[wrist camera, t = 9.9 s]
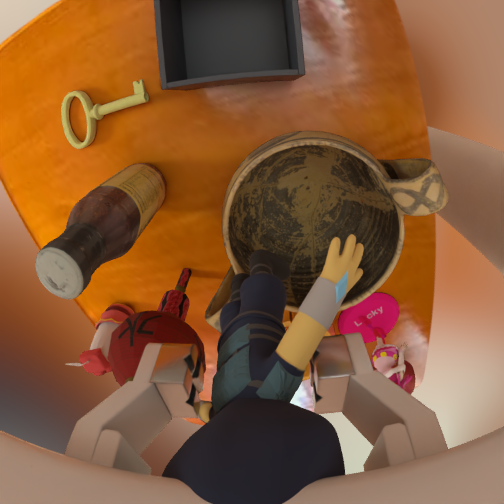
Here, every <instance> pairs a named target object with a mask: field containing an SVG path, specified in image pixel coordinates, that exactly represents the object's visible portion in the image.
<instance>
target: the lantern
mask: <svg viewBox="0 0 504 504" xmlns="http://www.w3.org/2000/svg"><path fill="white" fill-rule="evenodd" d="M190 275H191V270H190V269H188V268H185V269H183V270H182V273H181V275H180V278H179V280H178V283H177V286H176V288H175V290H170V291H167V292H166V293H165V294H164V296H163V298H162V300H161V303H160V305H159V307H158V310H157V311H144V312H140V313H136V314H132V315H130V316H129V317H127V318H126V319H125V320H124V321H123V322H122V323H121V324H120V325H119V326H118V327H117V328H116V329H115V330H114V331H113V332H112V335H111V340H110V346H109V351H108V357H107V358H108V361H109V364H110V366H111V369H112V371H113V374H114V376H115V379H116V381H117V382H118V383H119V384H120V385H121V387H122V386H123V385H124V384H125V383H127V382H128V381H133V379H134V376H135V374H136V371H137V368H138V366H139V363H140V360H141V358H142V355H143V352H144V350H145V347H146V345H147V344H148V343H177V344H195V345H196V347H197V350H198V357H197V359H198V360H199V361H201V363H202V366H203V372H204V373H205V371H206V365H205V354H204V345H203V343H202V341H201V340H200V338H199V337H198V335H197V333H196V332H195V331H194V330H193V329H192V328H191V327H190V326H189V325H188V324H187V323H186V322H184V321H185V318H186V315H187V311H188V308H189V299H188V297H187V296H186V294H184V293H185V290H186V287H187V284H188V281H189V278H190Z"/></svg>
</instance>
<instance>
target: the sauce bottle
mask: <svg viewBox="0 0 504 504" xmlns="http://www.w3.org/2000/svg"><path fill="white" fill-rule="evenodd" d="M165 194H166V181H165V179H164V177H163V176H162V174H161V173H160V172H159V170H157V169H156V167H154V166H153V165H149V164H143V163H139V164H133V165H131V166H128V167H126V168H124V169H123V170H121V171H120V172H118V173H116V174H115V175H113V176H112V177H110V178H109V179H107V180H106V181H105V182H103V183H102V184H100V185H99V186H97V187H96V188H94V189H93V190H92V191H90V192H89V193H88V194H87V195H86V196H85V197H83V198H82V199H81V200H79V202H78V203H77V204H76V205H75V206H74V207H73V209H72V211H71V213H70V216H69V219H68V222H67V226H66V229H65V231H64V233H62V234H61V235H60V236H59V237H58V238H56V239H54V240H53V241H51V242H49V243H48V244H47V245H46V246H44V247H43V248H42V249H41V250H40V251H39V253H38V255H37V257H36V271H37V274H38V277H39V279H40V281H41V282H42V284H43V285H44V286H45V287H46V289H47V290H49V291H50V292H51V293H53V294H55V295H57V296H59V297H61V298H64V299H74V298H76V297H78V296H79V295H80V294H81V293H82V292H83V290H84V289H85V288H86V287H87V285H88V284H89V282H90V280H91V275H92V274H93V273H94V271H95V270H96V269H97V268H98V267H100V265H101V264H103V263H105V262H107V261H110V260H113V259H116V258H118V257H121V256H123V255H124V254H125V253H127V252H128V251H129V250H130V248H131V247H132V246H133V244H134V243H135V241H136V240H137V238H138V237H139V236H140V234H141V233H142V232H143V230H144V229H145V227H146V226H147V225H148V223H149V222H150V220H151V219H152V218H153V216H154V215H155V214H156V212H157V211H158V210H159V208H160V207H161V205H162V203H163V201H164V198H165Z"/></svg>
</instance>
